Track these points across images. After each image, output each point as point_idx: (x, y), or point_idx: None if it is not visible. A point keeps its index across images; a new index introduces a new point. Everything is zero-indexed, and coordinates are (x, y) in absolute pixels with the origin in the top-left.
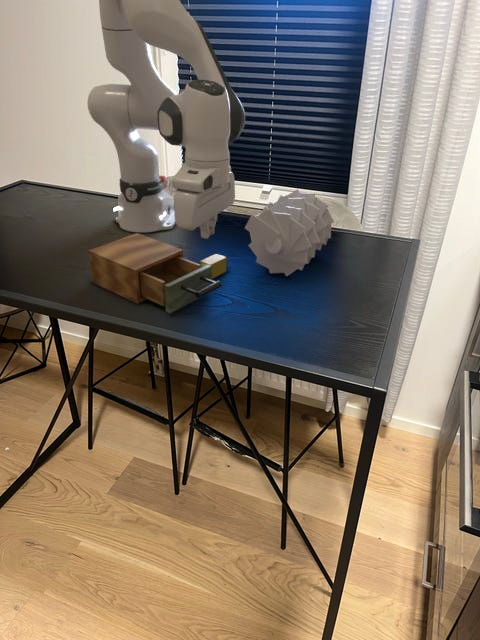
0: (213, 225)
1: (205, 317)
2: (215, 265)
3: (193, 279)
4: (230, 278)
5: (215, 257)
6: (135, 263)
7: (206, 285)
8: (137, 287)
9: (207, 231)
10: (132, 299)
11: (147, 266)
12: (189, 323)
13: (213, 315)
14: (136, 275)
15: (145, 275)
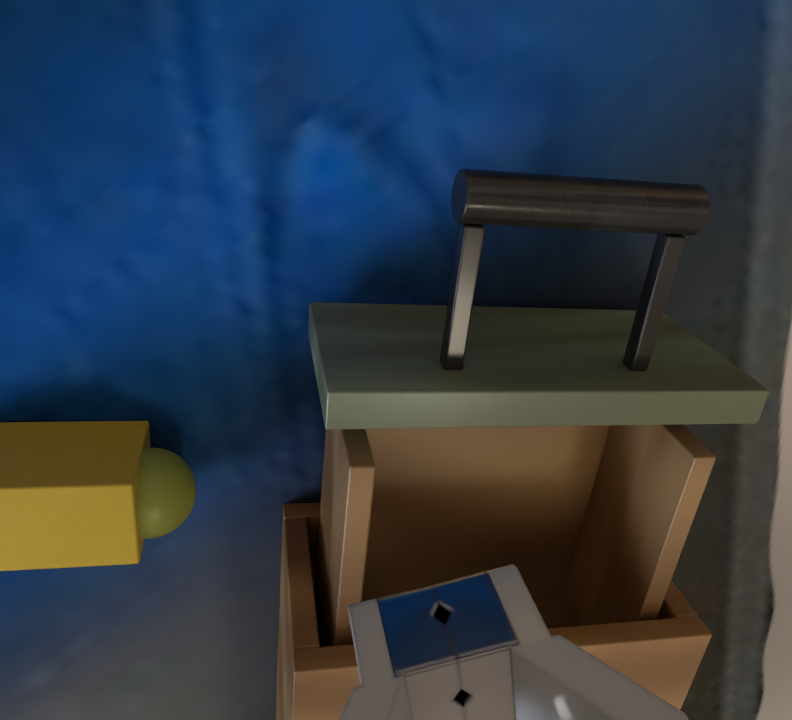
0: (395, 704)
1: (562, 146)
2: (79, 471)
3: (528, 372)
4: (27, 341)
5: (5, 536)
6: None
7: (371, 327)
8: None
9: (550, 636)
10: None
11: (615, 634)
12: (658, 179)
13: (518, 120)
14: (684, 605)
15: (671, 577)
